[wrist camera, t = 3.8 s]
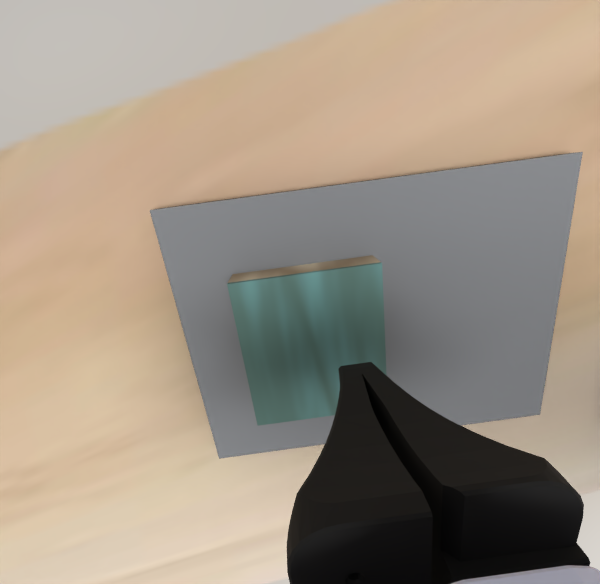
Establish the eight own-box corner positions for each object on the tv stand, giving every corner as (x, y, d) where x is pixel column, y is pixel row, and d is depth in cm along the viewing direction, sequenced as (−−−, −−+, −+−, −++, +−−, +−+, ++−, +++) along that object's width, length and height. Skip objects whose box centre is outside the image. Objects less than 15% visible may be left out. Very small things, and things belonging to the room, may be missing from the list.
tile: (382, 263, 14) (227, 284, 14) (387, 407, 17) (257, 425, 17) (372, 255, 16) (232, 274, 16) (379, 389, 18) (259, 405, 18)
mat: (571, 152, 15) (582, 151, 14) (532, 407, 20) (539, 414, 20) (154, 209, 15) (149, 210, 14) (221, 450, 20) (219, 458, 19)
